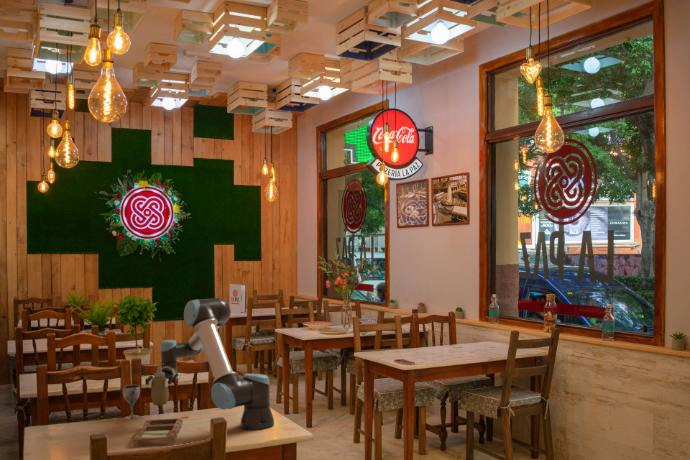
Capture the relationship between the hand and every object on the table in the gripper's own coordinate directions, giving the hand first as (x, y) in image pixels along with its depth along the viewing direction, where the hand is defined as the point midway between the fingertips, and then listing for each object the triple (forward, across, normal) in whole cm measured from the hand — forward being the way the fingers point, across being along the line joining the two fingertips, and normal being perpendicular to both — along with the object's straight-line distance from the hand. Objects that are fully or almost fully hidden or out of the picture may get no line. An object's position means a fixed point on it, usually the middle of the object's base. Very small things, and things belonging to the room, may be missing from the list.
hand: (157, 384), depth 296 cm
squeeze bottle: (-5, 0, -10) cm, 11 cm away
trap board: (+11, -2, -20) cm, 23 cm away
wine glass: (-25, +17, -20) cm, 37 cm away
